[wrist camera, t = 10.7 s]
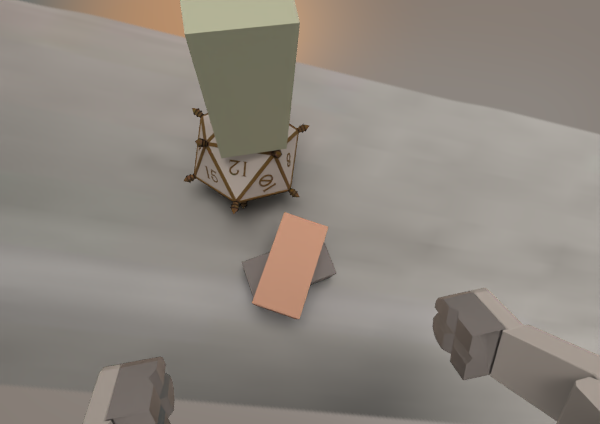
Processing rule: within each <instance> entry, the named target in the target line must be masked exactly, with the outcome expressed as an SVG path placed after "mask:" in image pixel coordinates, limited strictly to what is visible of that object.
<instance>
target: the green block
mask: <svg viewBox="0 0 600 424" xmlns="http://www.w3.org/2000/svg"><path fill="white" fill-rule="evenodd" d="M180 4H181V11H182V18H183V25H184V32H185V37H186V40H187V44H188V47H189V50H190V54H191V57H192V61H193V64H194V67H195V71H196V74H197V77H198V81H199V84H200V88H201V91H202V94H203V98H204V101H205V105H206V108H207V111H208V115H209V118H210V122H211V125H212V128H213V132H214V135H215V139H216V142H217V145H218V149H219V152H220V156H221V158H226V157H233V156H240V155H247V154H254V153H261V152H268V151H274V150H281V149H287V139H288V130H289V120H290V111H291V101H292V92H293V82H294V72H295V63H296V52H297V44H298V34H299V24H300V22H299V18H298V14H297V10H296V5H295V1H294V0H180Z"/></svg>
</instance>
